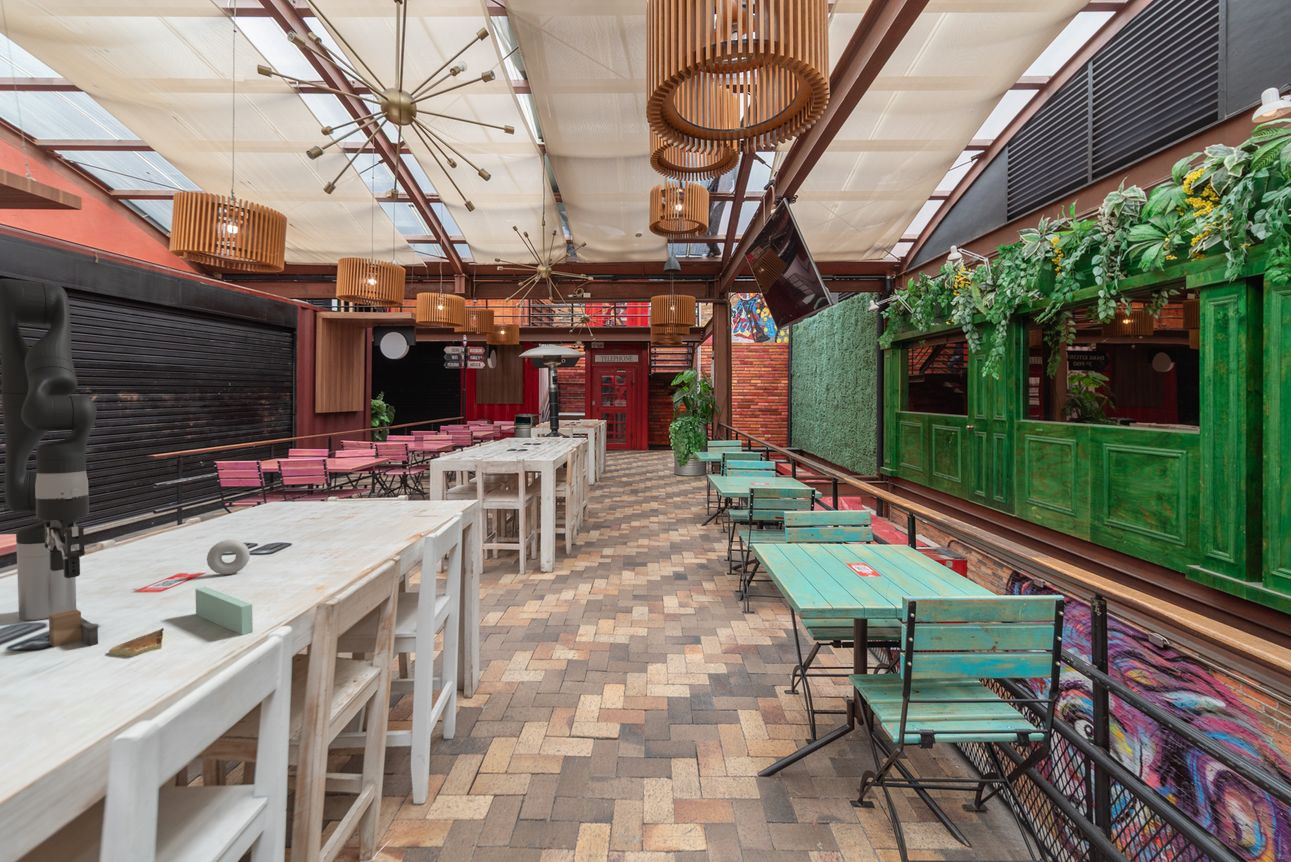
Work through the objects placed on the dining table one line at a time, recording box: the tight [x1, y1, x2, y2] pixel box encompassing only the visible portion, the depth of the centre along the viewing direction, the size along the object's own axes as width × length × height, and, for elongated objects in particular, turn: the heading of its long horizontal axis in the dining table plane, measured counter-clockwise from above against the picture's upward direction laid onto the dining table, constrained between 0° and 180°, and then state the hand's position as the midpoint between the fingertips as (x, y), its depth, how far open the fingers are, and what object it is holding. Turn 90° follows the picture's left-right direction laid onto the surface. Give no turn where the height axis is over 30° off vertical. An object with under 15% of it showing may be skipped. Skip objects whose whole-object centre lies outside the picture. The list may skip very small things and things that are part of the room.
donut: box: [206, 539, 251, 575], centre depth 165 cm, size 10×4×10 cm, turn 125°
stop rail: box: [195, 586, 254, 636], centre depth 128 cm, size 22×2×6 cm, turn 59°
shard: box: [108, 627, 165, 658], centre depth 116 cm, size 11×8×2 cm
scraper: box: [48, 608, 99, 648], centre depth 117 cm, size 13×5×6 cm, turn 59°
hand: (65, 573), depth 117 cm, fingers open, 8 cm apart
